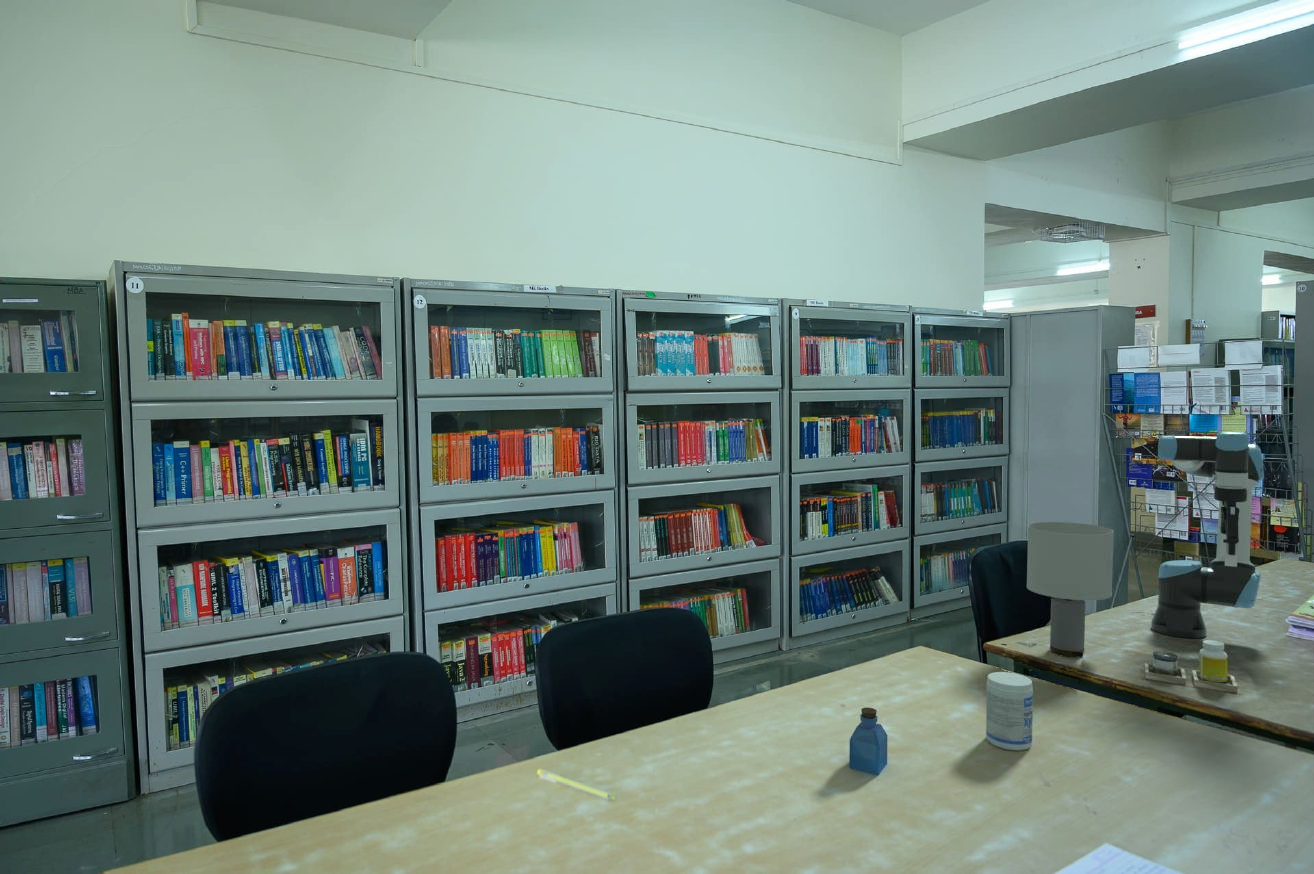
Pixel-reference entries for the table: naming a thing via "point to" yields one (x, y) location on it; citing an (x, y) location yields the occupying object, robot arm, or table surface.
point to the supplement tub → (1009, 710)
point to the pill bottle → (1213, 662)
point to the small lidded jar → (1165, 663)
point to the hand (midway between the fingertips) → (1228, 561)
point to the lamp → (1069, 576)
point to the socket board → (1190, 680)
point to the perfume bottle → (868, 744)
